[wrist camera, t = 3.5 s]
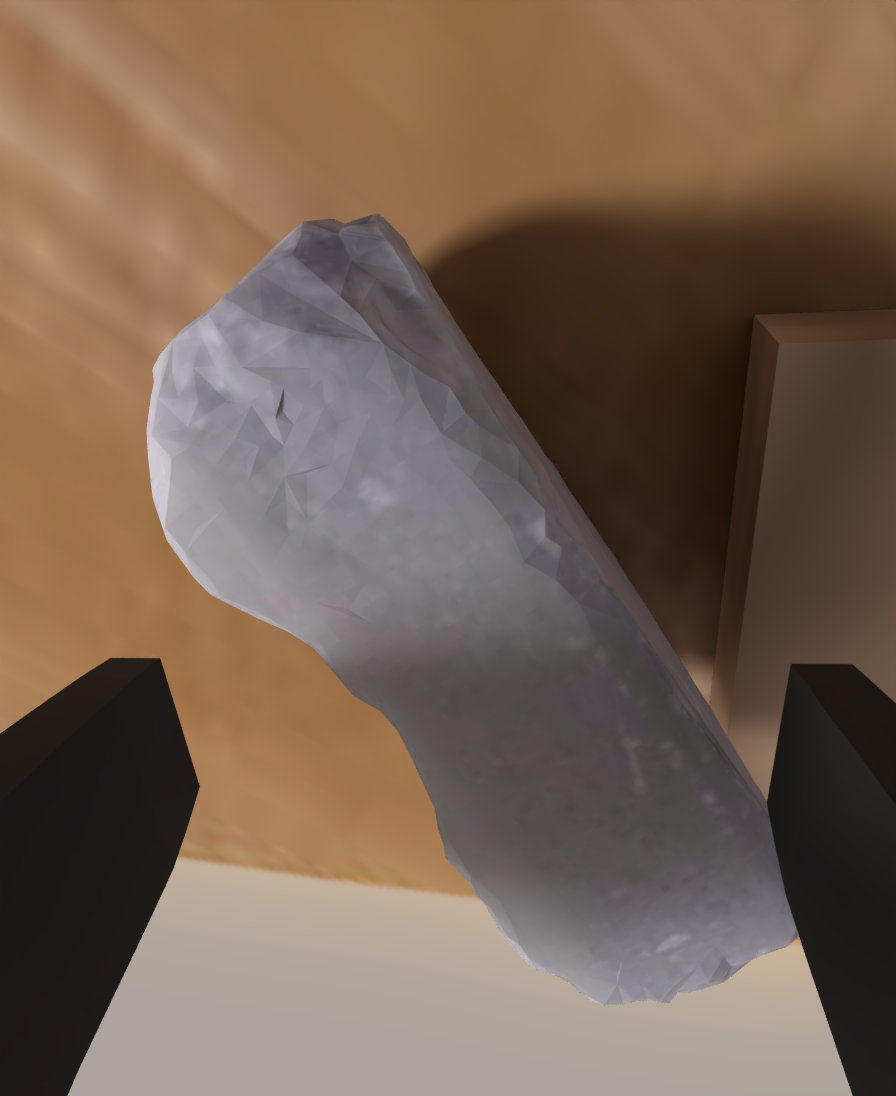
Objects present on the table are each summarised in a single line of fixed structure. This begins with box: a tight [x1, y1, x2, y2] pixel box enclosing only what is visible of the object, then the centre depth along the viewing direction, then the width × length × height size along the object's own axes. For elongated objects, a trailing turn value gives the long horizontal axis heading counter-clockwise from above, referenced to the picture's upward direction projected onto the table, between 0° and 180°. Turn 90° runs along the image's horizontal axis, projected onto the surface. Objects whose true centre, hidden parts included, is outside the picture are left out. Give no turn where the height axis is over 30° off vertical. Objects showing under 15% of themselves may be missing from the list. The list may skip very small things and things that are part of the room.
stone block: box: [147, 214, 799, 1005], centre depth 14 cm, size 12×5×10 cm, turn 32°
